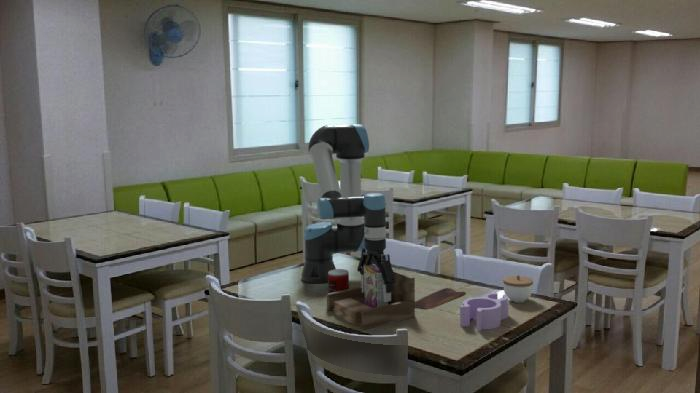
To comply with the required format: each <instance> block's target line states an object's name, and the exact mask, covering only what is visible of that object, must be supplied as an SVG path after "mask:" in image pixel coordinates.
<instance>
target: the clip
mask: <svg viewBox="0 0 700 393" xmlns="http://www.w3.org/2000/svg"><path fill="white" fill-rule="evenodd" d="M459 307H460V308H459V311H460V312H459V326H460V327H468V326H470V324H471V321H470V320H471V319H475V318H476V331H477V332H482V330H491V329H492V330H493V329H496V328H499V327H500V326H501V324H502V323H501V320H505V318H506V319H507V318H509V298H508V296H507V295H506V294H504V295H502V298H499V299H498V293H497V292H489V293H485V294H484V295H483V296H477V297H476V296H475V297H470V298H466V299H464V300H463V302H462V305H460V306H459Z"/></svg>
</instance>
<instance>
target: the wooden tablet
mask: <svg viewBox="0 0 700 393" xmlns="http://www.w3.org/2000/svg"><path fill="white" fill-rule="evenodd" d="M464 295H466V292H465V291H456V290H455V289H453V288H451V287H450V288H449V287H445V288H442V289H439V290H437V291H435V292H432V293H430V294H428V295H426V296H424V297H422V298H419V299H417V300H415V310H417V309H418V310H423V311H424V310H425V311H427V310H430V309H434V308H437V307H439V306H441V305H443V304H445V303H448V302H450V301H452V300H456V299H457V298H460V297H462V296H464Z"/></svg>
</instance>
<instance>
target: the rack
mask: <svg viewBox="0 0 700 393" xmlns="http://www.w3.org/2000/svg"><path fill="white" fill-rule="evenodd" d="M392 270H393V273H394V277H395V280H396V282H394V283H392V284H391V301H388V305H384V306H380V307H375V308H371V309H367V310H363V311H361V324H360V325H361V326H360V327H361V329H362V330H367V329H372V328H376V327H379V326H382V325H386V324H391V323H394V322H399V321H402V320H406V319H410V318H415V316H416V308H415V301H416V298H415V297H416V296H415V295H416V293H415V292H416V290H415V289H416V287H415V286H416V285H415V284H416V282H415V281H416V280H415V278H416V277H414V276H412V275H409V274H406V273H404V272H401V271H399V270H395V269H393V268H392ZM349 298H352V299H354V300H356V301H358V302H360V303H362V304H365V296H364V293H362V285H361V286H357V287H352V288H349V289H347V290H342V291H337V292H332V293H329V292H328V293H326V310H327V311H330V310H331V311H334V310H333V309H334V302H335V301H340V300H344V299H349Z"/></svg>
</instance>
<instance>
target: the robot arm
mask: <svg viewBox="0 0 700 393" xmlns="http://www.w3.org/2000/svg"><path fill="white" fill-rule="evenodd" d="M366 129H367V128H366V127H365V126H364V125H363V124H355V123H346V124H327V125H326V124H325V125H323V126H321V127H319V128H318V129H317V130H315V132H314V133H313V134H312V135H311V137H310V139H309V142H308V147H307V148H308V155H309V158H310V159H311V160H312V162H313V166H314V167H313V168H314V170H315V171H314V172H315V175H316V181H317V185H318V190H319V195H320V198H318V199H317V201H316V202H317V203H316V209H317V210H316V212H317V216H318V218H319V219H321V220H327V219H328V220H333V219H334V220H335V219H337V220H336V225H333V224H332V223H331V222H330V221H325V222H324V221H321V222H316V223H312V224H309V225H307V226H306V227H305V228H304V232H303V234H304V235H303V236H304V237H303V239H304V263H303V268H302V271H301V280H302V281H303V282H305V283H310V284H324V283H325V284H326V283H327V284H328V272H329V271H331V270H334V269H337V267H336V266H335V262H334V260H333V258H334V257H333V255H334V254H346V253H358V252H361V255H360V258H359V261H358V266H357V269H356V270H357V272H359V273H360V276H361V280H360V281H361V286H362V293H364V265H366V266H367V265H371V264H374V265H376V266H377V267H378V268H379V271H381V272H382V277H383V280H384V283H383V300H384V302H388V301H391V284H392V283H394V282H396V280H395V277H394V273H393V270H394V269H393V266H392V263H391V258H390V257H391V256H390V254H389V253H388V254H385V253H384V250H386V248H387V239H386V237H387V228H386V227H387V223H386V221H387V219H386V205H387V203H386V197H385V195H384V194H382V193H378V192H377V193H376V192H375V193H374V192H372V193H366V194H362V161H363V160H364V159H365V157H366V155H365V154H367V153H369V152H370V151H369V150H370V142H369V141H370V140H369V135H368V132H367V131H368V130H366ZM333 154H335V155H336V156H335V157H336V159H337V160H338V161H339V179H338V174H337V172H336V167H335V163H334V158H333ZM392 269H393V270H392Z"/></svg>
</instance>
